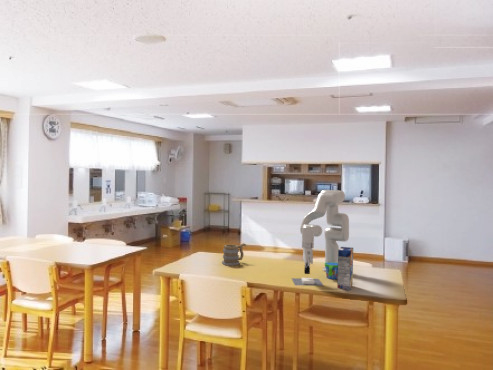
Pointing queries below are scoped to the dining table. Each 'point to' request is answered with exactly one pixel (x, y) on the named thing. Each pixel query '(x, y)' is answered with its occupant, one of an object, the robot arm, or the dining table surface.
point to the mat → (316, 283)
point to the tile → (307, 280)
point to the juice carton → (345, 268)
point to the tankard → (232, 254)
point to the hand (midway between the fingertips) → (307, 273)
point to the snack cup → (331, 270)
